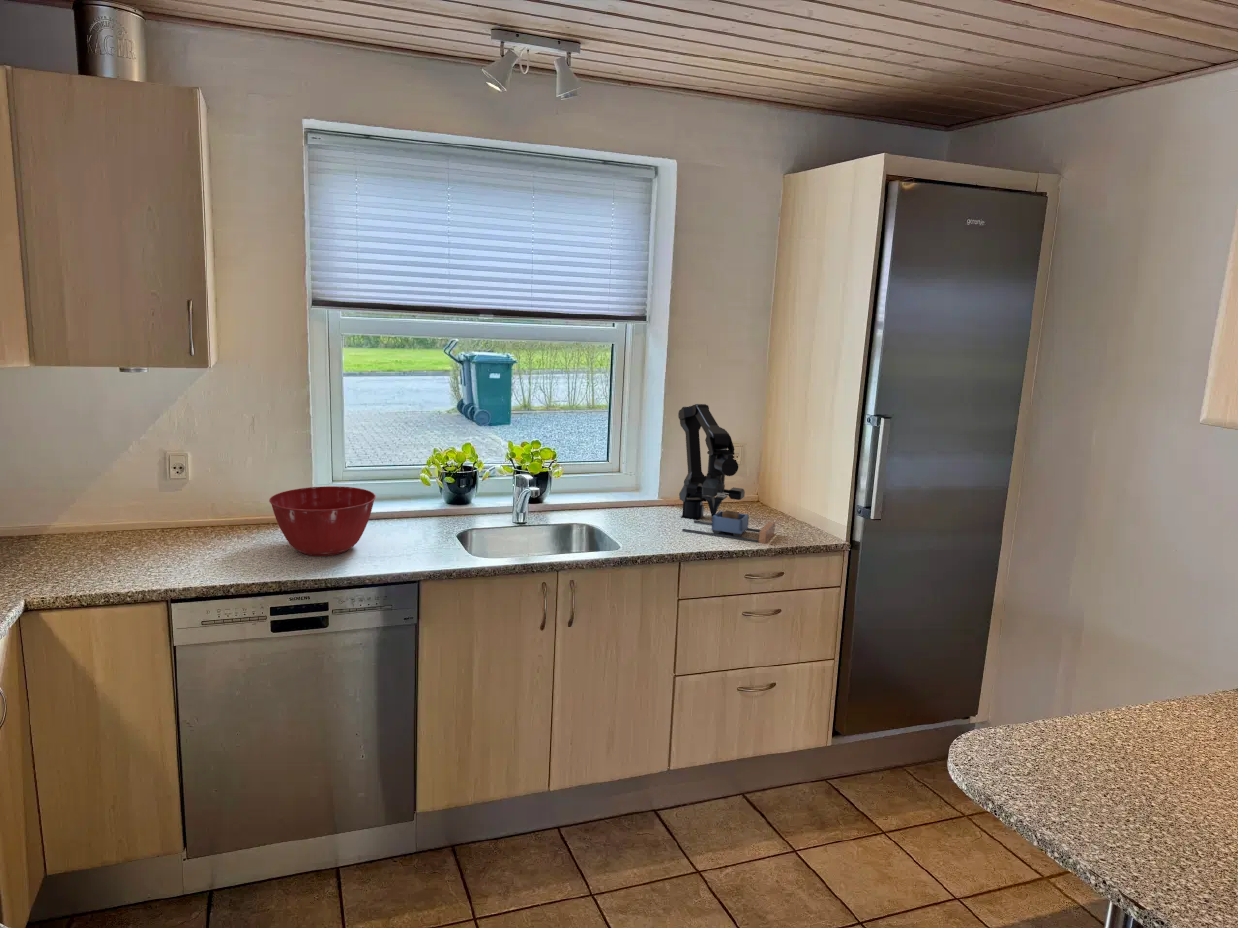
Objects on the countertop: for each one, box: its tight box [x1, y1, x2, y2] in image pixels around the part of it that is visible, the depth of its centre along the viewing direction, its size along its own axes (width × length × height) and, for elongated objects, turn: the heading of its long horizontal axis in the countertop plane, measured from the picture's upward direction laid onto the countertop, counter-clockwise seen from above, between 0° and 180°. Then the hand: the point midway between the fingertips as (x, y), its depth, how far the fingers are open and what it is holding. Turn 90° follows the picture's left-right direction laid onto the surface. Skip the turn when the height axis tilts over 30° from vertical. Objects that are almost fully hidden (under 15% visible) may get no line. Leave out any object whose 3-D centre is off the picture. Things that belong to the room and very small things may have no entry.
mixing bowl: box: [268, 485, 377, 557], centre depth 246 cm, size 28×28×16 cm
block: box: [722, 509, 740, 519], centre depth 286 cm, size 4×4×4 cm
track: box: [681, 520, 776, 544], centre depth 286 cm, size 28×14×4 cm, turn 68°
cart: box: [711, 510, 750, 537], centre depth 286 cm, size 10×9×6 cm
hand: (713, 516), depth 288 cm, fingers closed
